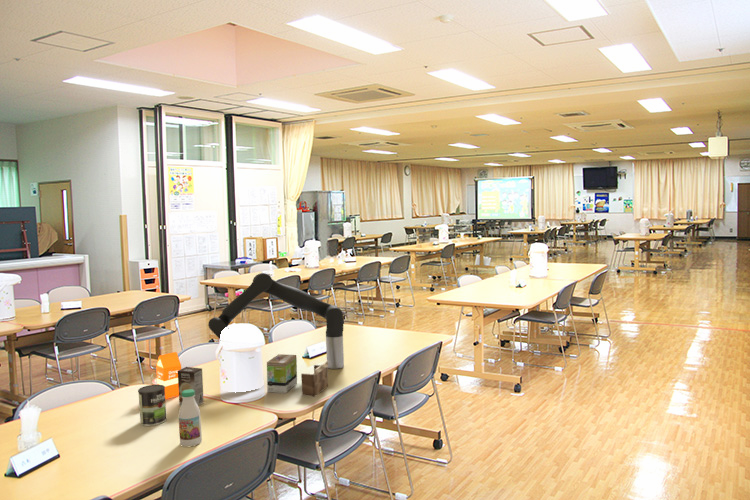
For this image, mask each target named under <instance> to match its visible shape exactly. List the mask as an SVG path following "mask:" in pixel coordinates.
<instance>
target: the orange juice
mask: <svg viewBox="0 0 750 500" xmlns="http://www.w3.org/2000/svg"><path fill="white" fill-rule="evenodd" d="M181 369H182V364H181V361H180V358H179V355H178V353H177V351H174V352H170V353H164V354H160V355H159V356H158V359H157V362H156V366H155V370H156V371H155V372H156V385H164V386H165V400H168V399H171V398H173V397H174V398H175V397H179V388H178V370H181Z"/></svg>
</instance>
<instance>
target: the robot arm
mask: <svg viewBox="0 0 750 500" xmlns="http://www.w3.org/2000/svg"><path fill="white" fill-rule="evenodd" d="M262 293H265V294H269V295H271V296H273V297H276V298H278V299H280V300H281V301H283V302H285V303H287V304H289V305H291V306H293V307H295V308H297V309H300V310H302V311H305V312H311V313H314V314H316V315H318V316H320V317H321V318H323V319H325V321H326V323H325V325H326V329H325V344H326V349H325V350H326V361H328V366H327V369H330V370H331V369H332V370H338V369H343V368H344V366H345V359H344V357H345V355H344V354H345V353H344V333H343V332H344V313H343V311H342V310H341V308H339V307H338V306H336V305H334V304H331V303H327V302H325V301H322V300H320V299H318V298H316V297H315V296H314V295H312V294H309V293H307V292H306V291H304V290H302V289H299V288H297V287H293V286H291V285H287V284H283V283H281V282H278V281H276V280H274V279H273V278H272V277H271V275H270V274H268V273H266V272H262V273H258V274H256V275H255V276H254V277H253V279H252V282H251V284H250V285H249V286H248V287H247V288H246V289H245V290H244V291H243V292H242V293H240V294H239V295H238V296H237V297H236V298H235V299H233V300H232V301H231V302H230V303H229V304H227V305H226V306H225V307H224V308H223V310H222V311H221V314H219V315H218V317H211V318H210V319H209V321H208V328H209V330H210V331H211V332H212V333H213V334H214V335H215V336H216V337H217V338H218V339H219V340H220V334H221V331H222V330H223V329H224V328H225V327H228V326H229V324H231V322H232V321H233V320H234V319H235V318H236V317H237V316H238V315H239V314H240V313H241V312H242V311H243V310H245V309H246V308H247V306H248V305H249V304H250V303H252V301H254V300H255V299H256V298H257V297H258V296H260V295H261V294H262Z"/></svg>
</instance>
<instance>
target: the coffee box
mask: <svg viewBox="0 0 750 500" xmlns="http://www.w3.org/2000/svg"><path fill="white" fill-rule="evenodd" d="M203 379H204V378H203V368H201V367H200V368H199V367H193V366H192V367H191V366H185V367H183V368H181V370H178V388H179V395H178V403H179V404H178V405H179V406H181V405H182V401H183V398H182V391H184V390H188V389H193V390H194V391H195V396H194V398H195V401H196V403H197V405H199V406H201V405H202V404H204V403H203V402H205V401H204V382H203ZM201 403H202V404H201Z"/></svg>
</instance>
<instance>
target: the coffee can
mask: <svg viewBox="0 0 750 500" xmlns="http://www.w3.org/2000/svg"><path fill="white" fill-rule="evenodd" d="M137 393H138V405H139V420H140V421H139V422H140V425H141V426H143V427H154V426H158V424H159V425H161V424H163V422H164V423H165V422H167V408H166V407H167V404H166V399H165V386H164V385H157V384H150V385H145V386H141V387H140V388H139V389H137Z"/></svg>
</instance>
